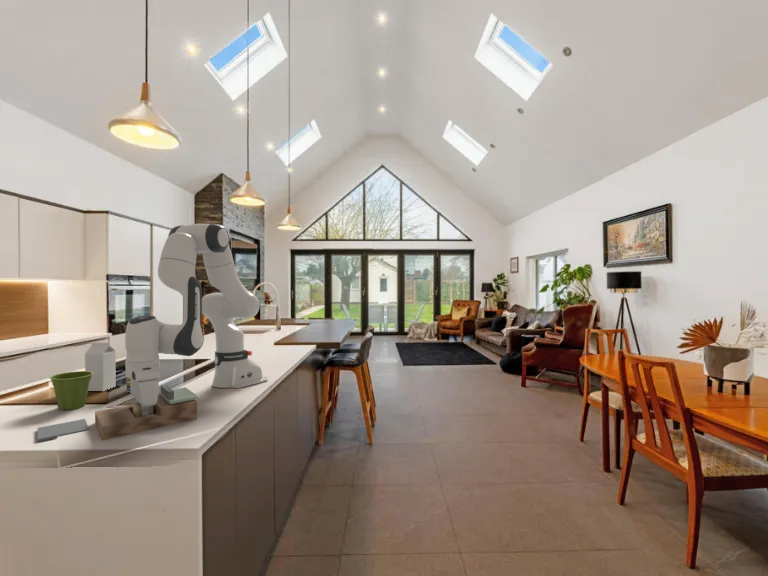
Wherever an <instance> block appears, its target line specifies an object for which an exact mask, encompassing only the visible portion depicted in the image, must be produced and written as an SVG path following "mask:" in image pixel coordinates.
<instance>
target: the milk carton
mask: <svg viewBox="0 0 768 576" xmlns="http://www.w3.org/2000/svg"><path fill="white" fill-rule="evenodd" d="M116 359H117V358H116V350H115V349H114V348H113V347H112V346H111V345H110V342H91V345H90V347H89V348H88V349H87V350H86V352H85V353H84V371H90V372H93V373H94V374H93V375H92V376H91V381H90V382H89V387H88V391H103V392H105V390H106V391H108V390H111V389H113V387H114V388H116V386H117V385H116V384H117V380H116V379H117V378H116V376H117V374H116V369H117V368H116V367H117V364H116V363H117V362H116ZM110 388H111V389H110ZM107 389H108V390H107Z"/></svg>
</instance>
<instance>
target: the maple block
mask: <svg viewBox="0 0 768 576" xmlns="http://www.w3.org/2000/svg"><path fill="white" fill-rule="evenodd" d="M132 405H133V415H134V417H135V418H137V417H142V416H141V411H142V406H141V404H140V403H137V402H135V403H132ZM152 414H153V406H150V409H149V415H152Z"/></svg>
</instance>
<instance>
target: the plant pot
mask: <svg viewBox="0 0 768 576" xmlns="http://www.w3.org/2000/svg"><path fill="white" fill-rule="evenodd" d="M93 374H94V373H93V372H90V371H85V370H82V371H79V370H77V371H70V372H69V371H68V372H63V373H62V372H61V373H56V374H54V375H51V376H49V377H48V378H49V380H51V384H52V386H53V389H54V393H55V399H56V404H57V409H58V410H60V411H63V410H66V411H67V410H68V411H71V410H77V409H80V408H82V407H85V405H86V402H87V397H88V387H89V382H90V381H91V376H92V375H93Z"/></svg>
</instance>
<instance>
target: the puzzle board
mask: <svg viewBox="0 0 768 576" xmlns="http://www.w3.org/2000/svg"><path fill="white" fill-rule="evenodd" d="M197 406H198V402H197V399H195V400H190V401H185V402H179V403H174V404H169V403H168V402H167V401H166V400H165V399H164V398H163V397H162V396H161V395H160V394H159V393H158V400H157V403H156V405H154V406H153V414H152V415H147V416H142V417H137V418H135V417H134V415H133V404H131V405H124V406H123V405H122V406H119V407H118V406H117V407H113V408H108V409H107V408H106V409H100V410H96V411H95V412H94V421H95V422H94V424H95V426H96V428H97V431H98V433H99V436H100V438H101V440H102V441H106V440H109V439H114V438H119V437H123V436H124V437H125V436H127V435H133V434H137V433H141V432H145V431H150V430H154V429H158V428H165V427H167V426H172V425H177V424H182V423H185V422H191V421H194V420H198V407H197Z"/></svg>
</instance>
